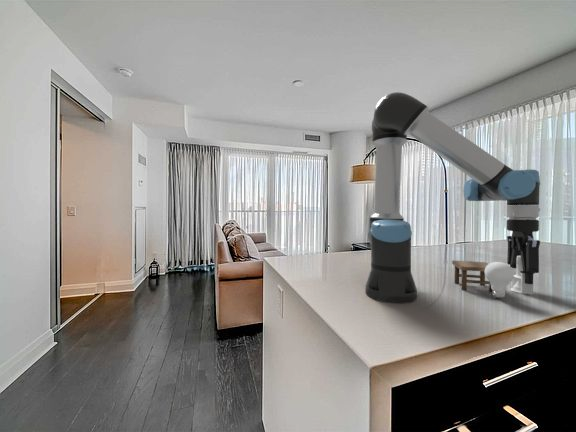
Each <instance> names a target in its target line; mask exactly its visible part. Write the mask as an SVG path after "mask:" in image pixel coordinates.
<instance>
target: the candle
mask: <svg viewBox="0 0 576 432" xmlns="http://www.w3.org/2000/svg"><path fill="white" fill-rule="evenodd" d="M516 263H517V264H516V275H514V278H516V279H518V281H517V283H516V284H515V285H514V286H513V288H512V287H510V289H509V290H510V291H512V292H514V293H519V294H522V293H521V272H520V271H523V267H522V260H521V255H519V256H517V262H516Z"/></svg>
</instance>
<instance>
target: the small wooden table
mask: <svg viewBox="0 0 576 432" xmlns="http://www.w3.org/2000/svg"><path fill="white" fill-rule="evenodd" d="M451 262H452V263H451V264H452V265H453V266H454V284H456V285H459V284H460V278H461V291H465V292H466V291H467V290H468V289H467V287H468V284H479V286H481V287H485V286H486V285H488V286H489V288H488V289H489V291H488V292H489V293H491V294H492V291H493V290H492V289H491V284H490V282H489V280H486V276H485V272H484V271H485V268H486V266H487V265H488V264H489V263H488V262H486V261H472V260H471V261H469V260H466V261H465V260H452V261H451ZM460 271H461V273H460ZM468 271H469V272H479V274H467V273H468ZM468 278H470V279H468ZM471 278H475V280H474V279H471ZM476 279H479V280H476Z"/></svg>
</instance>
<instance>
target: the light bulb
mask: <svg viewBox="0 0 576 432" xmlns="http://www.w3.org/2000/svg"><path fill="white" fill-rule="evenodd" d="M511 268H512V267H510V265H509V264H507V263H505V262H502V261H492V262H490V263H488V265H487V266H486V268H485V271H484V272H485V278H486V279H487V281H489V282H490V284H491V289H492V290H493V291H492V293H491V295H492V297H494V298H496V299H498V300H501V299H504V298H505V297H506V291H507V287H508V285H509V284H511V281H512V279H513V277H514V272H513V270H512V269H511Z"/></svg>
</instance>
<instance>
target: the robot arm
mask: <svg viewBox="0 0 576 432" xmlns="http://www.w3.org/2000/svg"><path fill="white" fill-rule="evenodd" d="M371 131H372V136H371V138H372V140H371V144H372V145H373V146H374V148H375V149H376V150H375V179H374V181H375V183H374V185H375V186H374V208H373V209H374V211H373V213H372V214H371V215H370V216H369V228H368V229H369V230H368V234H367V235H368V236H367V237H368V242H369V244H370V271H369V274H368V277H367V280H366V282H365V294H366V295H367V296H368V297H370V298H371V299H375V300H378V301H381V302H385V303H386V302H387V303H393V304H395V303H396V304H406V303H407V304H408V303H412V302H415V301H417V300H418V288H417V286H416V283H415V280H414V277H413V274H412V234H413V233H412V227H411V224H410V223H409V222H407V221H406V220H405V219H404V216H402V214H401V213H400V201H401V200H400V199H401V179H402V178H401V177H402V175H401V174H402V150H403V149H402V147H403V146H404V145H405V144H407V141H408V140H407V138H408V135H409V136H411V137H413V138H414V139H416V140H417V141H418V142H420V143H421V144H423V145H424V146H425V147H427V148H428V149H429V150H432V151H433V153H435V154H437V155H438V156H439V157H441V158H442V159H444V160H445V161H447V162H448V163H449V164H450V165H453V167H455V168H457V169H458V170H459V171H461V172H463V173H464V174H465V175H466V176H467V177H469V178H470V179H467V180H465V182H464V184H463V192H462V193H463V196H464V199H465V200H466V201H468V202H492V201H494V202H495V201H504V202H505V201H506V218H508V219H507V220H506V230H507V231H509V232H510V231H511V232H512V234H511V235H507V236H506V240H507V258H506V259H507V262H506V264H507V265H509V266H510V267H511V269H512V270H513V272H514V275H516V264H517V263H516V262H517V256H519V255H521V260H522V267H523V271H520V272H521V293H520V294H524V295H534V274H539V273H540V258H539V257H540V244H541V240H539V239H534V234H533V233H536V232H538V231H539V230H540V220H539V219H538V218H539V217H540V212H541V208H540V188H541V187H540V186H541V179H540V172H539V171H538V170H536V169H534V168H533V169H530V168H529V169H513V168H511V167H510V166H508V165H507V164H505V163H504V162H502V161H500V160H499V159H498V158H496V157H495V156H493V155H492V154H491V153H489V152H487V151H486V150H485V149H483V148H481V147H480V146H478V145H477V144H475V143H474V142H473V141H471V140H470V139H468V138H467V137H466V136H464V135H462V134H461V133H459V132H458V131H457V130H455V129H454V128H453V127H451V126H450V125H448V124H446V123H445V122H444V121H442V120H441V119H439V118H438V117H436V116H435V115H434V114H432V113H431V112H430V110H429V106H428V105H426V104H425V103H423V102H422V101H420V100H418V99H417V98H416V97H414V96H412V95H410V94H407V93H404V92H398V91H397V92H391V93H387V94H386V95H384V96H383V97H382V98H381V99H380V100H379V101H378V102H377V103H376V105H375V108H374V113H373V120H372V121H371ZM517 281H518V279H516V278H514V277H513V279H512V281H511V282H510V288H513V286H514V285H515V284H516V283H517Z"/></svg>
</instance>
